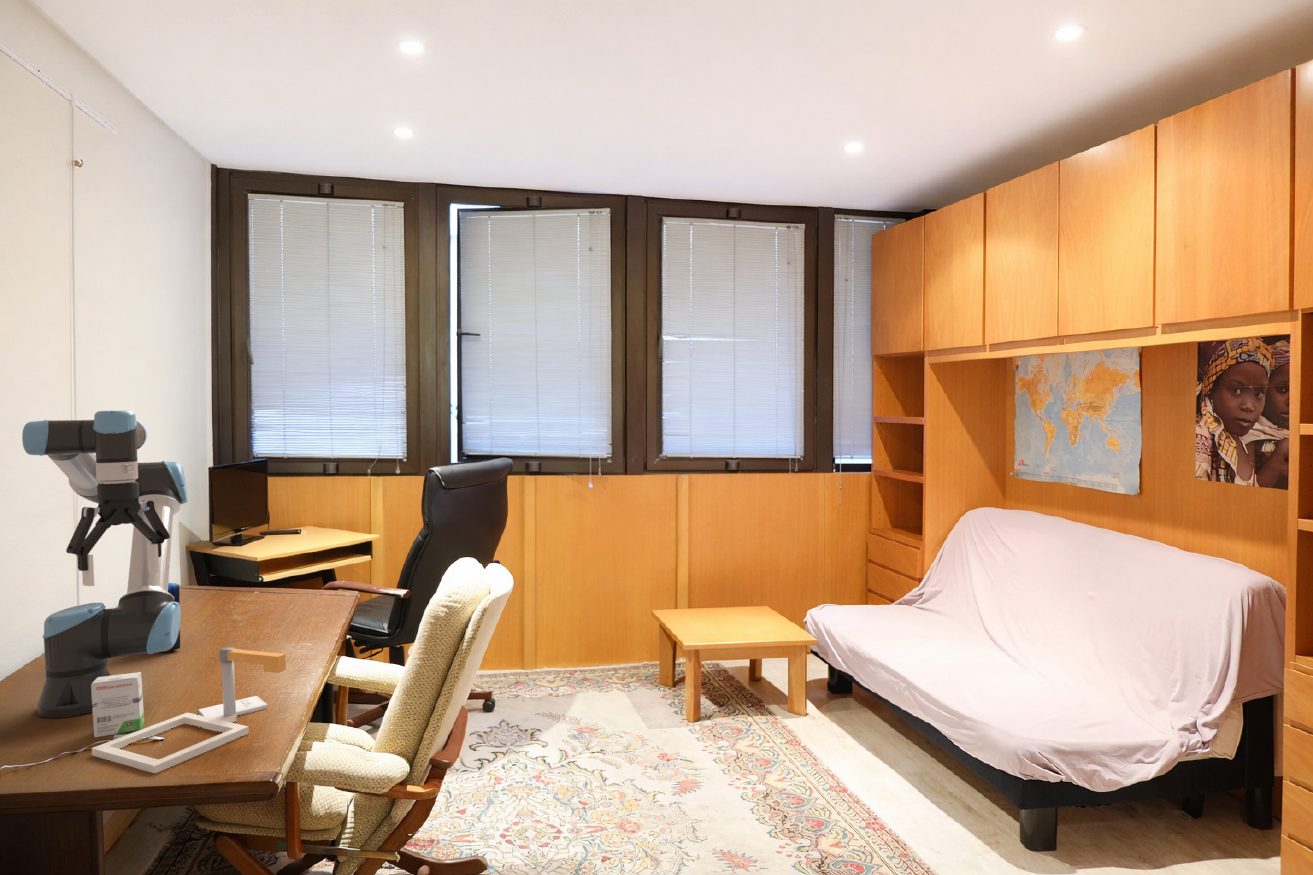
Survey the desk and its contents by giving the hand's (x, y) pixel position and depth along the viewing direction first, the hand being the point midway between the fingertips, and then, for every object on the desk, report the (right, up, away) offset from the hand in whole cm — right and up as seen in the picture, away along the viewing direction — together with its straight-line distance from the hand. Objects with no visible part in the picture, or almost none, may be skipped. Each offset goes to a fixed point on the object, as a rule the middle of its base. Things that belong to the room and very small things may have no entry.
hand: (122, 578), depth 172 cm
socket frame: (+17, -33, -6) cm, 37 cm away
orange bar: (+28, -20, +1) cm, 34 cm away
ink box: (0, -33, 0) cm, 33 cm away
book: (-28, -31, +58) cm, 71 cm away
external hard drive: (+19, -33, +10) cm, 39 cm away
